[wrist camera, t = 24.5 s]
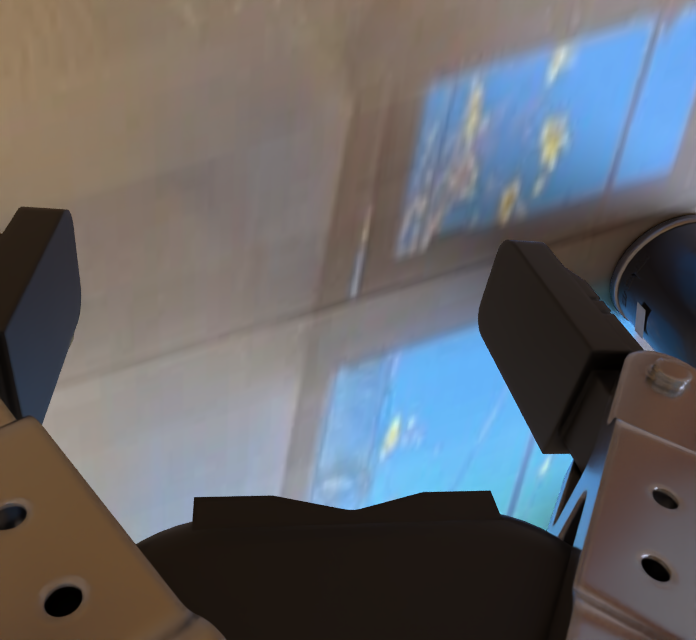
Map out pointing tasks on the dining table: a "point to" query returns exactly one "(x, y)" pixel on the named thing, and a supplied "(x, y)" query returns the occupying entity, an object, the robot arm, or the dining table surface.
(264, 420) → the dining table surface
